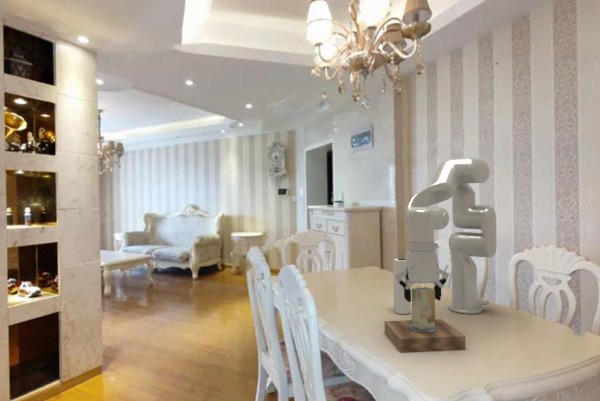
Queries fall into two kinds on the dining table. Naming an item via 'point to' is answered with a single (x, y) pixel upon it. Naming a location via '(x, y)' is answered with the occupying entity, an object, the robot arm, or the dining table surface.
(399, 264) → the paper towel roll
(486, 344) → the dining table surface
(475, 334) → the dining table surface
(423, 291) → the skincare box
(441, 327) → the walnut stand
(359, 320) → the dining table surface
